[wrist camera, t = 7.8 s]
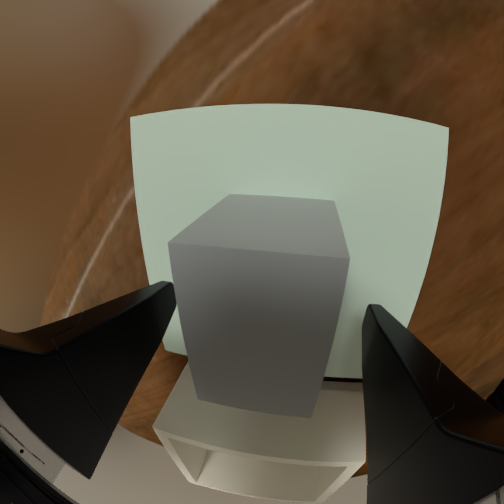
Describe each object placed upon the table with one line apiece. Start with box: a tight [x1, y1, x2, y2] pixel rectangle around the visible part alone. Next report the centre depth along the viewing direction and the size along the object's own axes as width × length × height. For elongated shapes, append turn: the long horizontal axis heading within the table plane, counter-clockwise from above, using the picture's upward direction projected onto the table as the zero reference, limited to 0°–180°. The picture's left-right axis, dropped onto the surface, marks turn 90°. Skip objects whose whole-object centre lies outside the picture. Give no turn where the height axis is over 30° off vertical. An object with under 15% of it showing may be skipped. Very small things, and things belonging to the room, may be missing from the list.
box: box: [152, 362, 366, 504], centre depth 16 cm, size 12×12×6 cm
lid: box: [130, 104, 449, 418], centre depth 10 cm, size 13×13×7 cm
